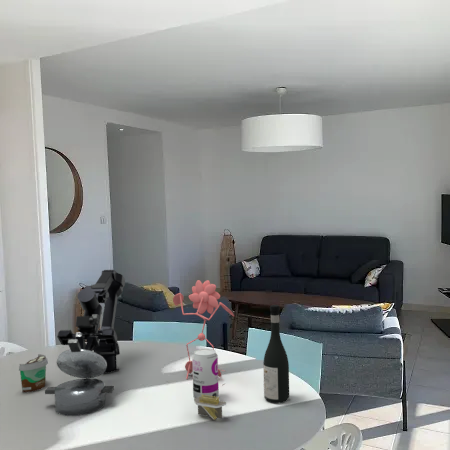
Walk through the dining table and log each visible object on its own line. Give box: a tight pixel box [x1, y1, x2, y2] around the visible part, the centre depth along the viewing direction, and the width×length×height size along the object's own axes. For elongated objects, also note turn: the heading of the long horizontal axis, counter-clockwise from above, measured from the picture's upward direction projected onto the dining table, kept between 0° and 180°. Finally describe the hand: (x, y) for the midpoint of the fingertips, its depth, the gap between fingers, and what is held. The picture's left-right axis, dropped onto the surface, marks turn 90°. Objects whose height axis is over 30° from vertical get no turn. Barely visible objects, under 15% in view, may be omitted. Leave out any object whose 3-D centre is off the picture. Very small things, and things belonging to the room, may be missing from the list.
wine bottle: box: [262, 304, 290, 404], centre depth 159 cm, size 8×8×30 cm
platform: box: [193, 395, 227, 420], centre depth 147 cm, size 12×18×7 cm, turn 65°
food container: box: [18, 353, 49, 393], centre depth 175 cm, size 12×6×10 cm, turn 168°
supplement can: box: [191, 348, 220, 400], centre depth 162 cm, size 8×8×15 cm
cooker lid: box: [56, 339, 107, 379], centre depth 160 cm, size 20×16×2 cm
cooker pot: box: [44, 378, 115, 417], centre depth 158 cm, size 15×21×6 cm
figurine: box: [172, 279, 235, 386], centre depth 183 cm, size 15×26×35 cm, turn 62°
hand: (82, 360), depth 162 cm, fingers closed
